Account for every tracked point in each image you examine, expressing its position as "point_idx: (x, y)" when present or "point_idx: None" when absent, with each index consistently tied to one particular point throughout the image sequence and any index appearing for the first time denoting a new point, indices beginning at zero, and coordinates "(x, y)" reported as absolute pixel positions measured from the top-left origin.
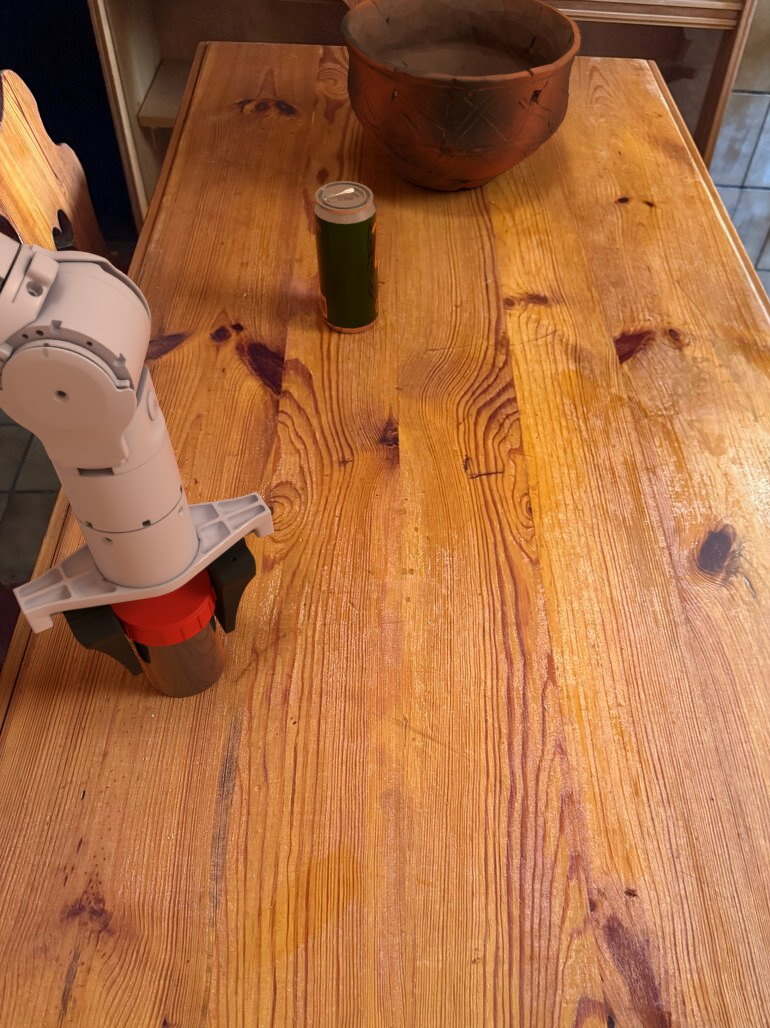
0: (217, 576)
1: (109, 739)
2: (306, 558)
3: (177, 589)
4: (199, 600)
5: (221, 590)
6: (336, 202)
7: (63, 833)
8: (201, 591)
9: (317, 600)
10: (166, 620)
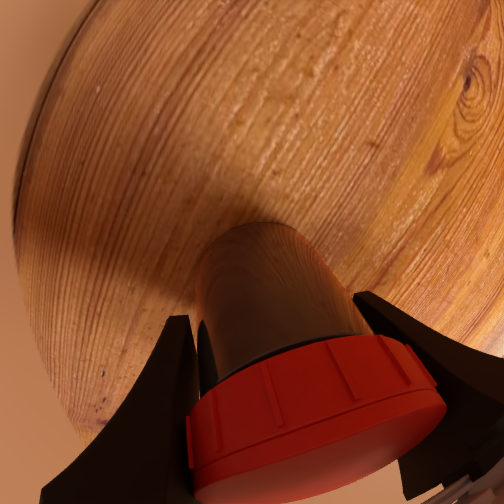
0: (415, 492)
1: (129, 338)
2: (462, 183)
3: (355, 473)
4: (364, 476)
5: (401, 467)
6: None
7: (89, 389)
8: (381, 466)
9: (435, 250)
10: (292, 500)
